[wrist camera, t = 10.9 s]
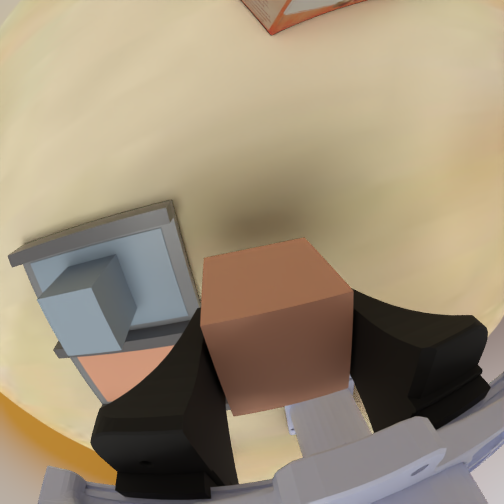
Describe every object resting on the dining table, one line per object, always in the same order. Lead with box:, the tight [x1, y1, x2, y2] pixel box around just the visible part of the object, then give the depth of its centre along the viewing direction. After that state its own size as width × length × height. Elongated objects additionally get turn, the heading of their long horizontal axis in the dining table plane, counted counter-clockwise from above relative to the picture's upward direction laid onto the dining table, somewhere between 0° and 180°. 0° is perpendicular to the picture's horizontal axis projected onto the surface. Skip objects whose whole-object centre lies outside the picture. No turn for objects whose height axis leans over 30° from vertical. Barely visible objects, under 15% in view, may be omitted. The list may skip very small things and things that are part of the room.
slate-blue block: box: [37, 254, 137, 356], centre depth 17 cm, size 4×4×5 cm
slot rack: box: [8, 200, 231, 410], centre depth 21 cm, size 19×14×2 cm
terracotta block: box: [200, 238, 354, 416], centre depth 11 cm, size 4×4×5 cm
